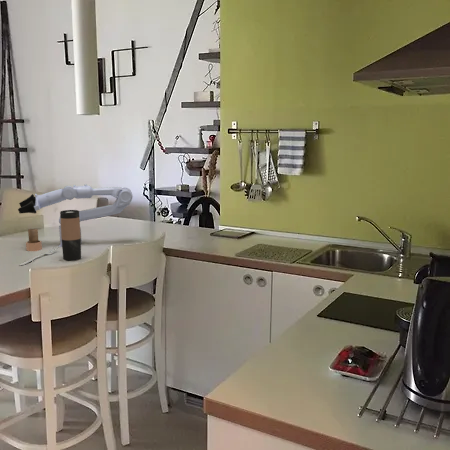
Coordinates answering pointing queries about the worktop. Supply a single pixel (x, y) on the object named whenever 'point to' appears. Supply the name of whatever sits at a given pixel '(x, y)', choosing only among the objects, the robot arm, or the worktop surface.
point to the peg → (33, 235)
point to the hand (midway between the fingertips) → (19, 208)
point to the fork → (40, 255)
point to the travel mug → (70, 235)
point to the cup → (33, 246)
